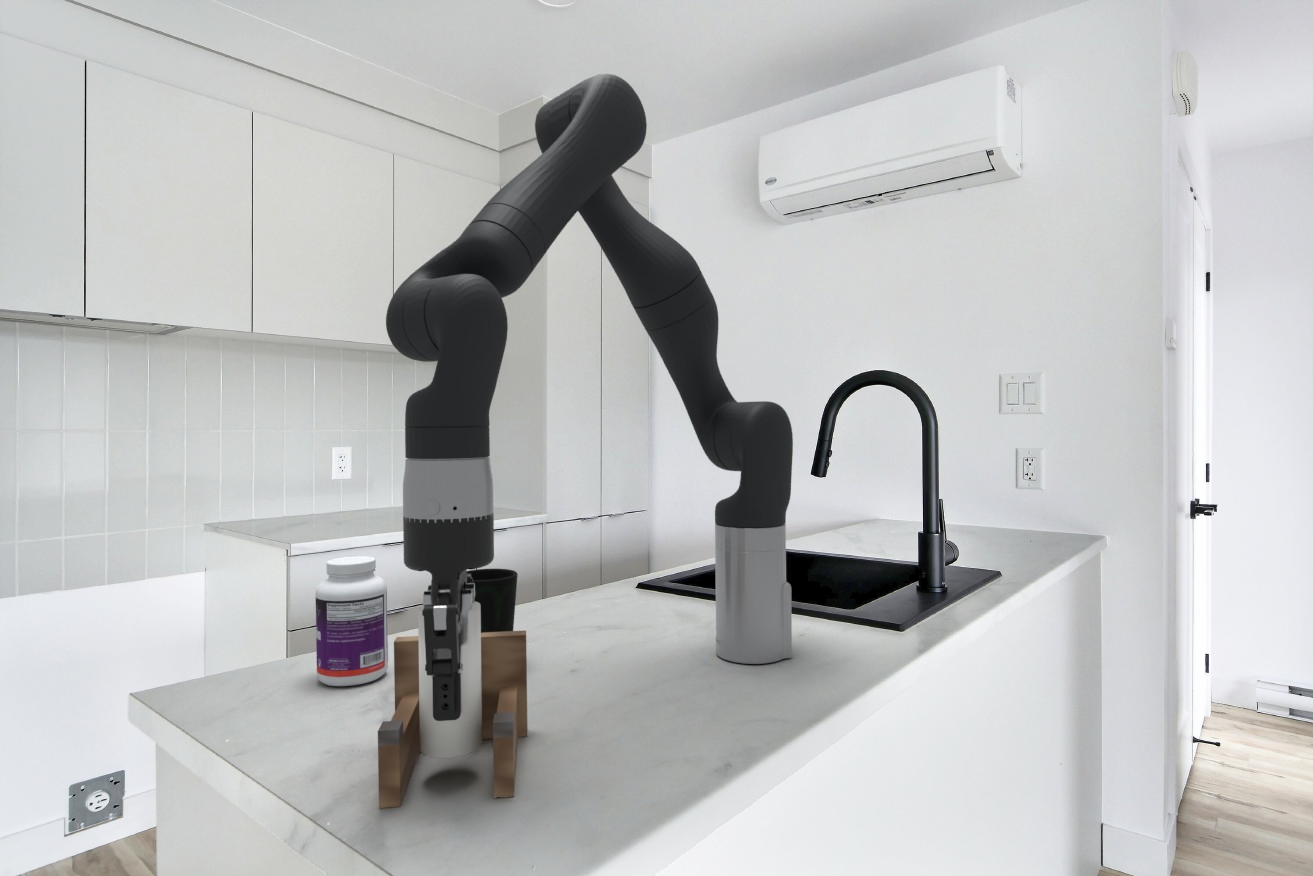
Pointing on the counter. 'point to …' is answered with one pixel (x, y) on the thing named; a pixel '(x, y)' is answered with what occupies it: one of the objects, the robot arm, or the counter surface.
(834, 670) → the counter surface
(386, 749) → the holder
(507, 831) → the counter surface
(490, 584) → the cup
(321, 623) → the pill bottle
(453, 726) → the roll
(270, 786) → the counter surface
